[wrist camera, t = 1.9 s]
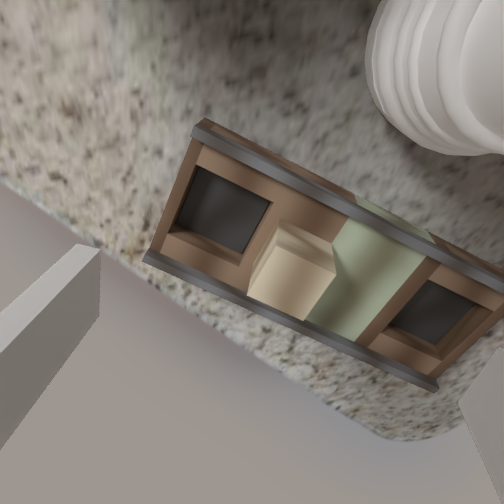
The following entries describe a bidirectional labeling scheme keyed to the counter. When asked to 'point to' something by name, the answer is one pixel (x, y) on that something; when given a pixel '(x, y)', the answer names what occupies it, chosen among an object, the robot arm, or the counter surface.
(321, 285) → the block
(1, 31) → the counter surface
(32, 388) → the robot arm
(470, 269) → the trap track
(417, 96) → the honey pot
